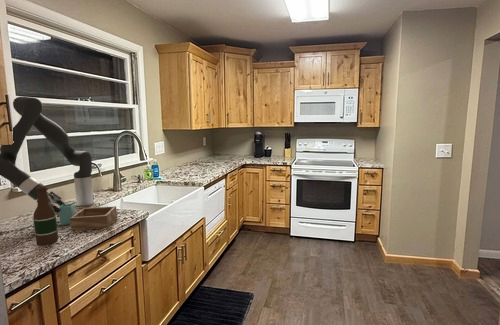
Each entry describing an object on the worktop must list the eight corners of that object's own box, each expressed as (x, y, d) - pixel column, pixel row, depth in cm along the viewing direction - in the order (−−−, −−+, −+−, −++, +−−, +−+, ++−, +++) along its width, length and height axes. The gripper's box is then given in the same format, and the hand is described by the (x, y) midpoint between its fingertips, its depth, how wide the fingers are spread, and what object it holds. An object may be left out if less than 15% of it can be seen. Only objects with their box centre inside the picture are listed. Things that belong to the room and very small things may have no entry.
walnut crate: (84, 219, 151) (83, 208, 151) (116, 217, 154) (116, 206, 153) (71, 230, 136) (70, 218, 135) (107, 227, 138) (106, 215, 138)
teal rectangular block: (64, 221, 148) (62, 204, 147) (76, 220, 150) (74, 203, 149) (60, 225, 143) (58, 207, 142) (73, 224, 145) (71, 206, 143)
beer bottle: (62, 238, 126) (56, 184, 123) (51, 245, 119) (44, 188, 115) (44, 238, 126) (38, 184, 123) (31, 246, 118) (24, 189, 115)
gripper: (32, 185, 134) (62, 207, 138) (45, 180, 148) (72, 200, 152) (20, 197, 133) (51, 219, 138) (34, 191, 147) (62, 210, 151)
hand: (62, 209), depth 145 cm, fingers open, 8 cm apart
